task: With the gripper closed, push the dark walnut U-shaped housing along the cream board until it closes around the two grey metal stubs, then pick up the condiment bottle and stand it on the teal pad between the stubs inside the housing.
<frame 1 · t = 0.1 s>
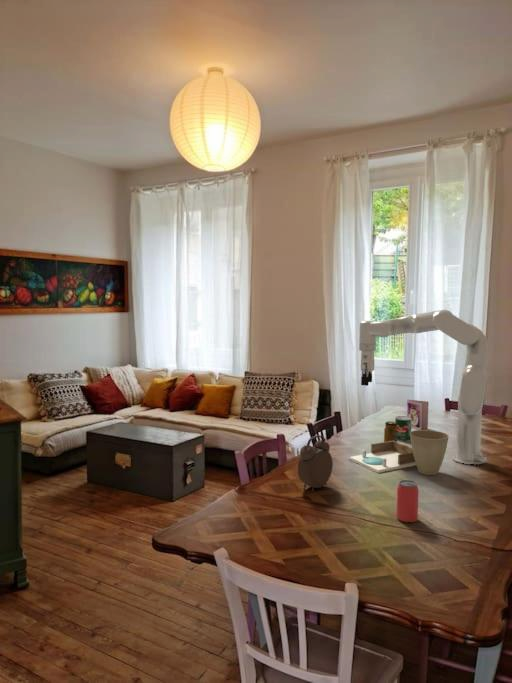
hand: (366, 383, 237), 31 cm above the table, tool pointing down, fingers open, 9 cm apart
condiment: (390, 448, 241), on the table
canned tomato: (402, 439, 255), on the table
plant pot: (427, 472, 207), on the table
alarm clock: (314, 488, 190), on the table
board: (386, 461, 220), on the table
pink box: (417, 428, 277), on the table
housing: (396, 452, 222), point 4 cm above the table, slide at 0.0 cm
beer can: (406, 519, 164), on the table
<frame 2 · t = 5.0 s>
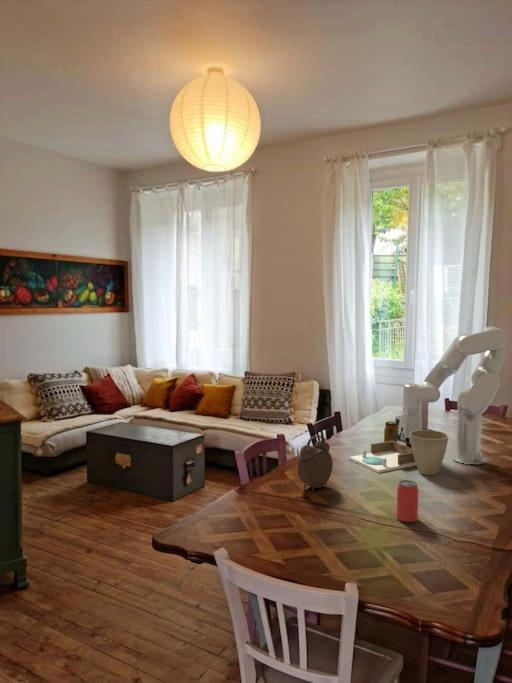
hand: (409, 451, 227), 2 cm above the table, tool pointing down, fingers closed
housing: (395, 452, 222), point 4 cm above the table, slide at 0.2 cm, touching gripper
everything else where it was.
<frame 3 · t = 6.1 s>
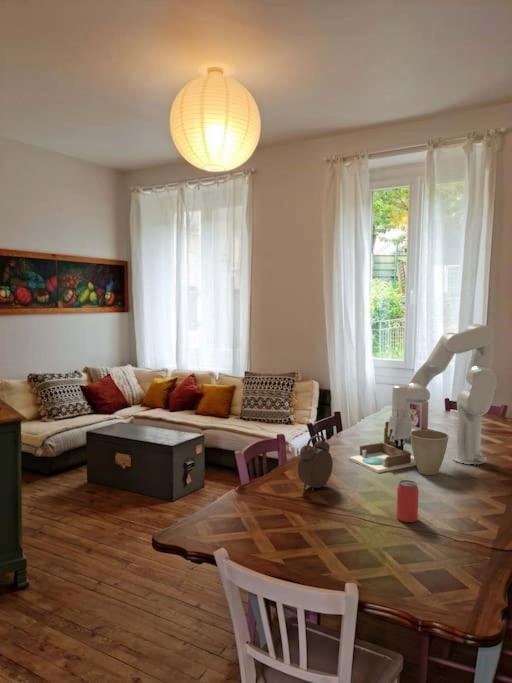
hand: (399, 453, 224), 2 cm above the table, tool pointing down, fingers closed
housing: (384, 454, 220), point 4 cm above the table, slide at 6.5 cm, touching gripper
everything else where it was.
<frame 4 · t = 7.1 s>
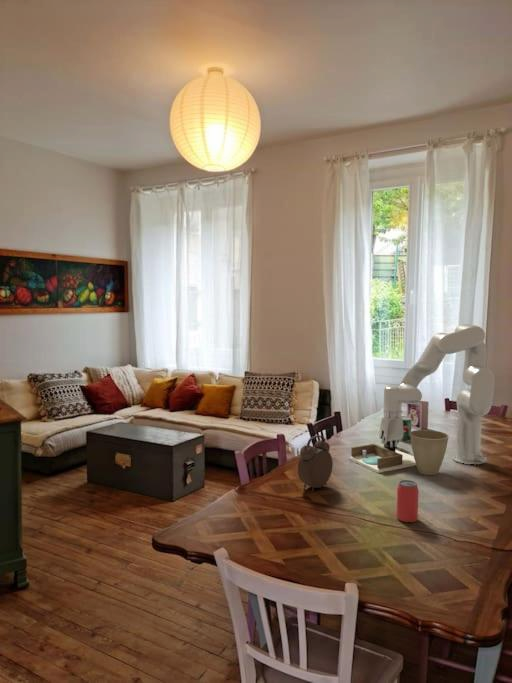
hand: (391, 455, 221), 2 cm above the table, tool pointing down, fingers closed
housing: (376, 455, 217), point 4 cm above the table, slide at 11.1 cm, touching gripper
everything else where it was.
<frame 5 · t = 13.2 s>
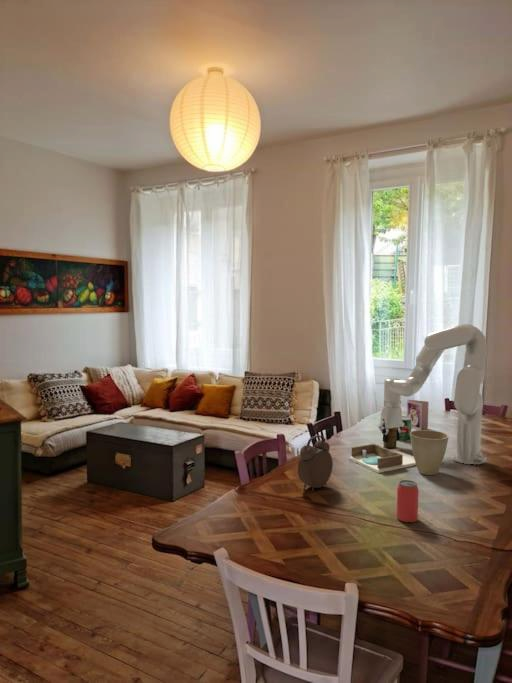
hand: (391, 440, 241), 3 cm above the table, tool pointing down, fingers closed on condiment, 6 cm apart
condiment: (390, 448, 241), on the table, touching gripper
housing: (376, 455, 217), point 4 cm above the table, slide at 11.0 cm
everything else where it was.
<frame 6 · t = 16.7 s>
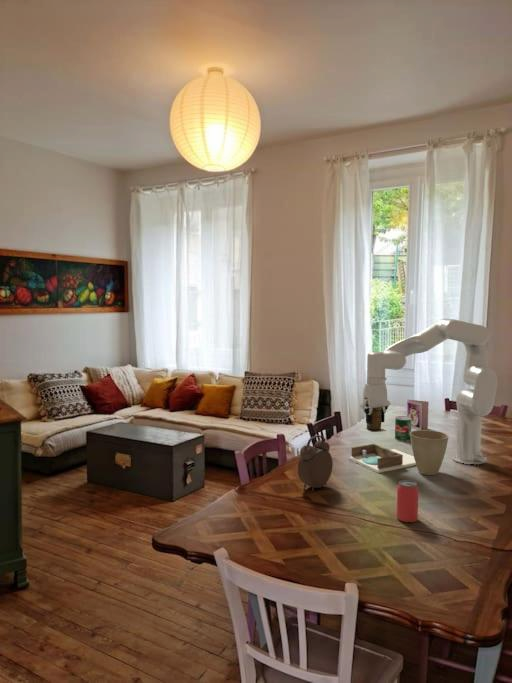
hand: (375, 422, 216), 18 cm above the table, tool pointing down, fingers closed on condiment, 6 cm apart
condiment: (374, 429, 216), point 15 cm above the table, touching gripper
everything else where it was.
when the fingers open (6 cm above the table, at t = 19.9 s): condiment drops 1 cm, resting on board.
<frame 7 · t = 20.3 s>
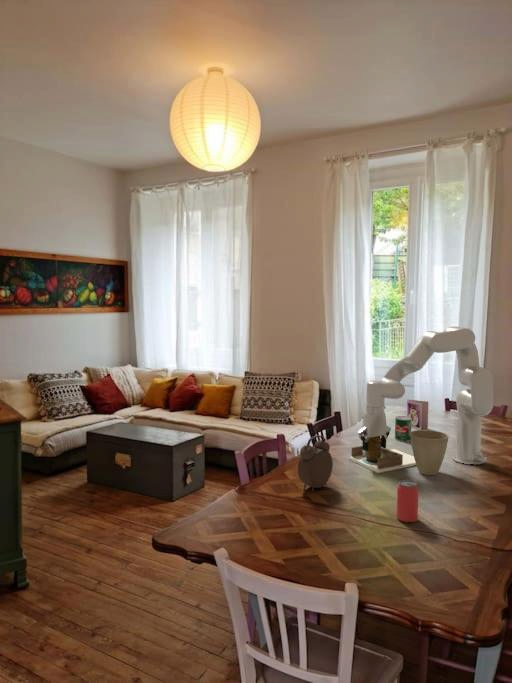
hand: (374, 449, 217), 7 cm above the table, tool pointing down, fingers open, 9 cm apart
condiment: (374, 461, 217), point 1 cm above the table, touching board
everything else where it was.
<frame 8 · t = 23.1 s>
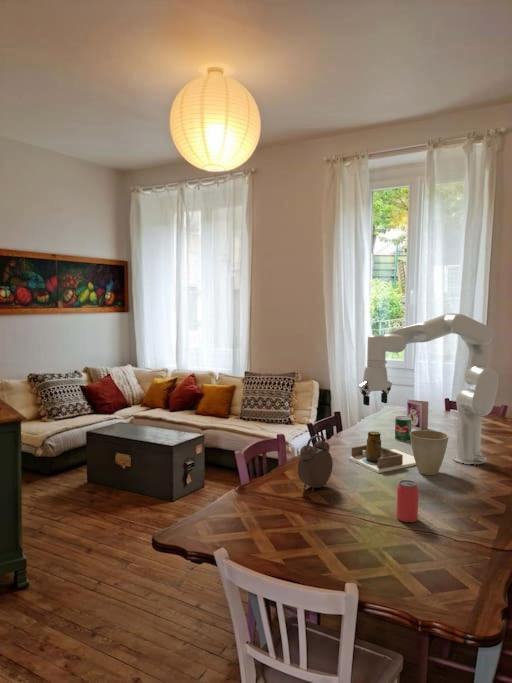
hand: (375, 403, 215), 26 cm above the table, tool pointing down, fingers open, 9 cm apart
nothing on the table moved.
at the end: housing slide at 11.0 cm; condiment inside the target area (0.1 cm from its centre), point 1.3 cm above the table; condiment tilted 0° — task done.
